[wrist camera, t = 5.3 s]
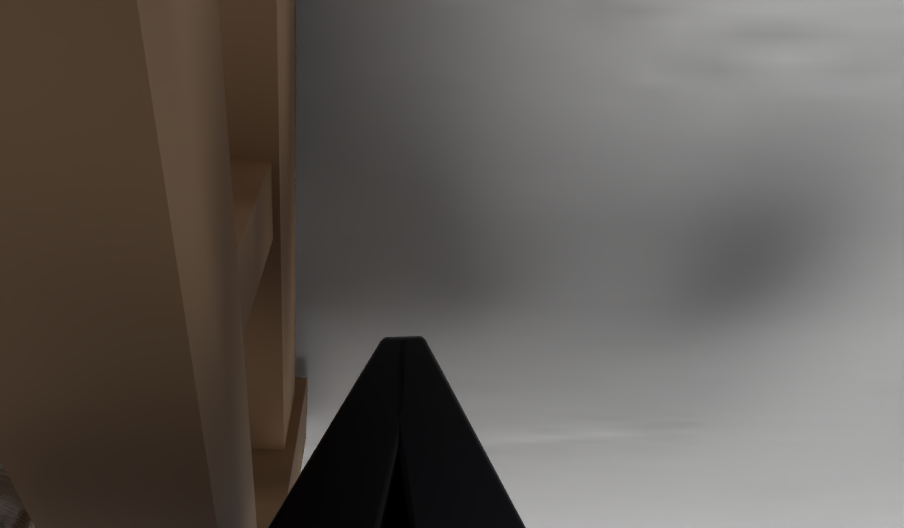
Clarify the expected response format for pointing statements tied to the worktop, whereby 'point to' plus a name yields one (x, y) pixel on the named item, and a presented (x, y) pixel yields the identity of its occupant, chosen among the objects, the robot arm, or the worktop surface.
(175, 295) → the gate
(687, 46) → the worktop surface
